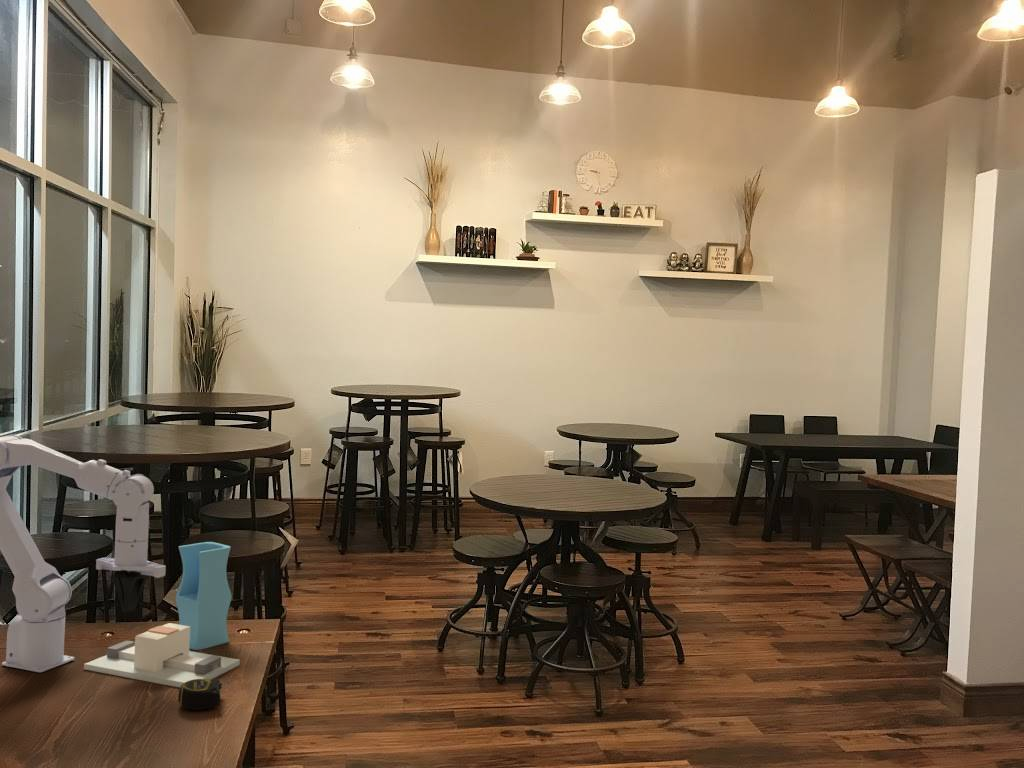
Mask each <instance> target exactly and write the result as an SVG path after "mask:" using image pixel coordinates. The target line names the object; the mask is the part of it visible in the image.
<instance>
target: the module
mask: <svg viewBox="0 0 1024 768" xmlns="http://www.w3.org/2000/svg"><path fill="white" fill-rule="evenodd" d="M134 637H135V639H134V642H135V655H134V668H136V669H141V670H147V671H152V672H158V671H160V670H162V669H163V661H165V660H167V659H169V658H171V657H174V656H176V655H178V654H180V655H186V656H189V651H190V648H189V644H190V626H185V625H179V624H178V623H170V622H169V623H165V624H163V625H158V626H155V627H152V628H149V629H147V631H145V632H143V633H139V634H137V635H135V636H134Z"/></svg>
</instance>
